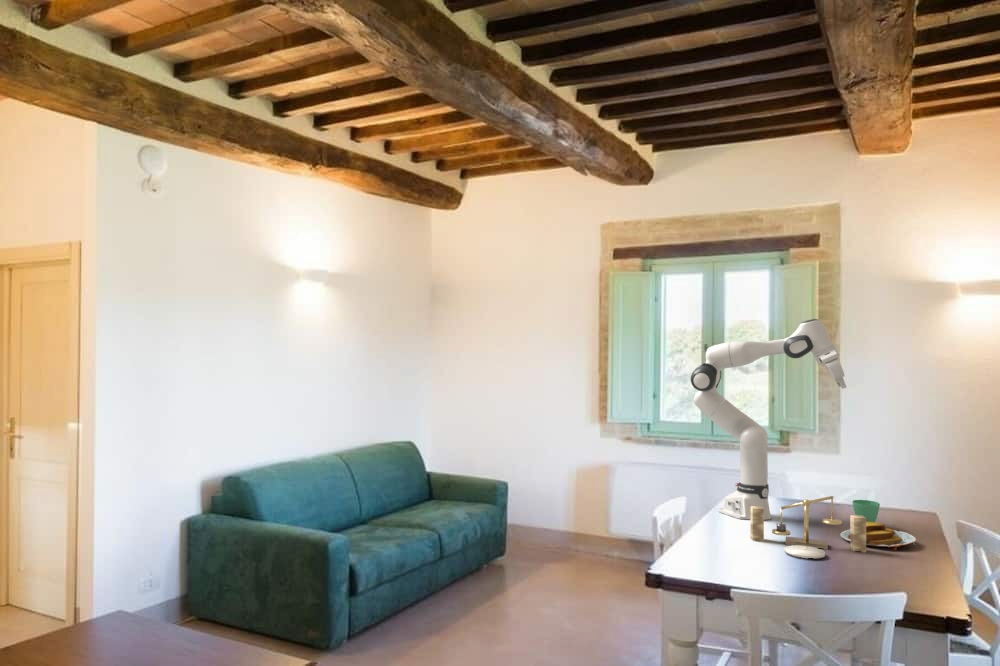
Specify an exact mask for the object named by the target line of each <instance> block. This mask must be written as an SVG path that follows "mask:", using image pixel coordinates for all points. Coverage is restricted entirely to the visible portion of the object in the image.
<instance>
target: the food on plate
mask: <svg viewBox="0 0 1000 666" xmlns="http://www.w3.org/2000/svg"><path fill="white" fill-rule="evenodd" d="M847 536H848V538H847ZM839 537H840V538H843V540H845V541H849V542H850V528H849V529H847V530H844V531H842V532H840V534H839ZM916 541H917V538H916V537H915V536H914V535H913V534H910V533H909V532H905V531H901V530H900V531H898V530H896V529H893V528H890V527H889V528H887V527H886V526H885V524H884V523H881V522H876V521H875V522H868V521H866V546H871V547H879V548H880V547H881V548H882V547H883V548H884V547H885V548H887V547H888V548H890V547H894V548H893V550H894V551H897V548H898V547H901V546H906V545H908V544H909V545H910V544H913V545H916V544H915V542H916Z"/></svg>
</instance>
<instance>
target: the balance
mask: <svg viewBox="0 0 1000 666" xmlns="http://www.w3.org/2000/svg"><path fill="white" fill-rule="evenodd" d="M827 500H828V501H829V500H831V502H830V503H831V510H830V511H831V514H830V515H831V517H830V518H823V519H822V523H823V524H826V525H831V526H841V525H843V521H842V520H841V519H835V518H834V495H830V496H825V497H820V498H816V499H812V500H809V499H804V500H803V501H802V502H797V503H793V504H789V505H787V504H786V505H783V506H780V523H776V528H773V529H772V530H771V533H772V534H773V535H777V536H785V546H790V545H800V546H809V547H816V548H824V549H823V550H827V549H828V548H829V545H828V544H829V543H828V540H824V539H823V540H822V539H815V538H810V537H809V536H810V534H809V533H810V532H809V531H810V529H809V528H810V526H809V525H810V521H809V520H810V517H809V515H810V509H809V508H810V507H809V506H810V505H811V504H814V503H815V504H816V503H819V502H824V501H827ZM800 506H803V537H796V536H790V535H791V533H792V532H791V530H788V529H787V524H785V523H783V510H786V509H790V508H795V507H800Z"/></svg>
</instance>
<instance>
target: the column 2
mask: <svg viewBox="0 0 1000 666" xmlns="http://www.w3.org/2000/svg"><path fill="white" fill-rule="evenodd" d="M849 523H850V524H849V525H850V528H849V529H850V541H849V542H850V548H851V549H852V550H851V549H850V548H849V549H850V550H851V551H853V550H854V551H861V552H860V553H867V545H866V518H865V517H863V516H857V515H855V514H853V515H852V514H850V521H849ZM854 551H853V552H854Z"/></svg>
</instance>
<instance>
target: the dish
mask: <svg viewBox="0 0 1000 666" xmlns="http://www.w3.org/2000/svg"><path fill="white" fill-rule="evenodd" d="M784 553H785V554H787V555H790V556H792V557H796V558H800V557H801V559H808V558H813V559H822V558H824V557H826V552H825V551H824V549H818V548H814V547H809V546H800V545H793V546H790V545H786V546H785V547H784Z"/></svg>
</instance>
